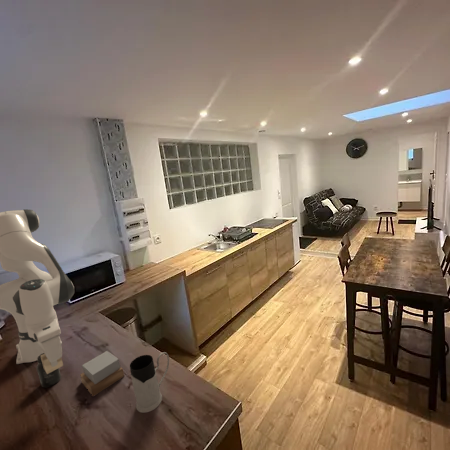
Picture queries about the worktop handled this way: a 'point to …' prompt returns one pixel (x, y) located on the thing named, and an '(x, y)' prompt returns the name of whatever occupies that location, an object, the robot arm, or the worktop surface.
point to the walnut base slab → (103, 383)
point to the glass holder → (146, 382)
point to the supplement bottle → (46, 378)
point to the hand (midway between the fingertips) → (52, 361)
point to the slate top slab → (101, 367)
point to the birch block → (47, 364)
